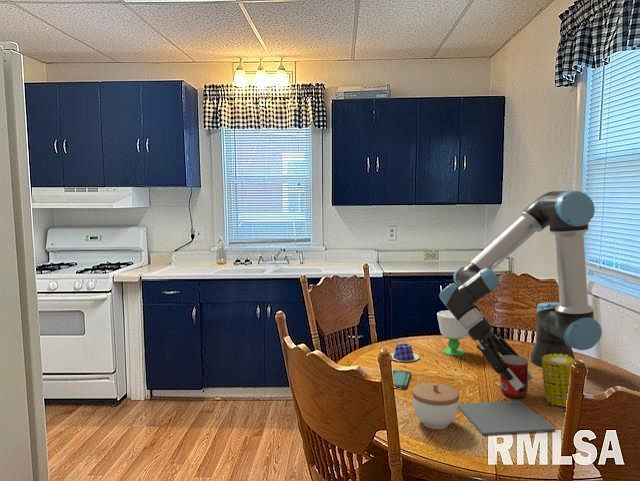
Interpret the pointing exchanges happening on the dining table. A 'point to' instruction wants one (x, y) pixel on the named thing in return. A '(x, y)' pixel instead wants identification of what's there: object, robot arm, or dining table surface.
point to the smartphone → (401, 378)
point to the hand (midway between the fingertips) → (524, 384)
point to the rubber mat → (504, 418)
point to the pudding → (404, 353)
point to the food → (556, 377)
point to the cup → (451, 332)
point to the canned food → (521, 372)
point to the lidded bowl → (435, 404)
